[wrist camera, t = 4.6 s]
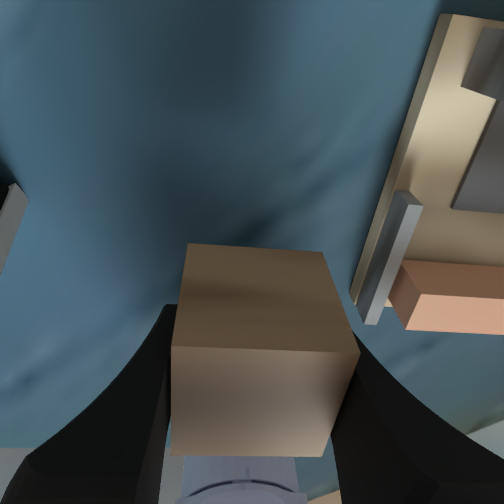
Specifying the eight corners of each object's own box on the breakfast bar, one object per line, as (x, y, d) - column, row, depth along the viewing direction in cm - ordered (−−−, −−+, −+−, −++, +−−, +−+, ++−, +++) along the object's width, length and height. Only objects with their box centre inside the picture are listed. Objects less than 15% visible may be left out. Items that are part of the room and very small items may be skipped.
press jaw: (532, 302, 25) (569, 338, 22) (385, 292, 24) (405, 329, 21) (552, 270, 24) (594, 305, 21) (398, 259, 23) (421, 294, 20)
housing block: (298, 346, 17) (321, 456, 13) (185, 341, 17) (170, 455, 12) (322, 252, 15) (360, 353, 10) (187, 242, 14) (171, 345, 10)
